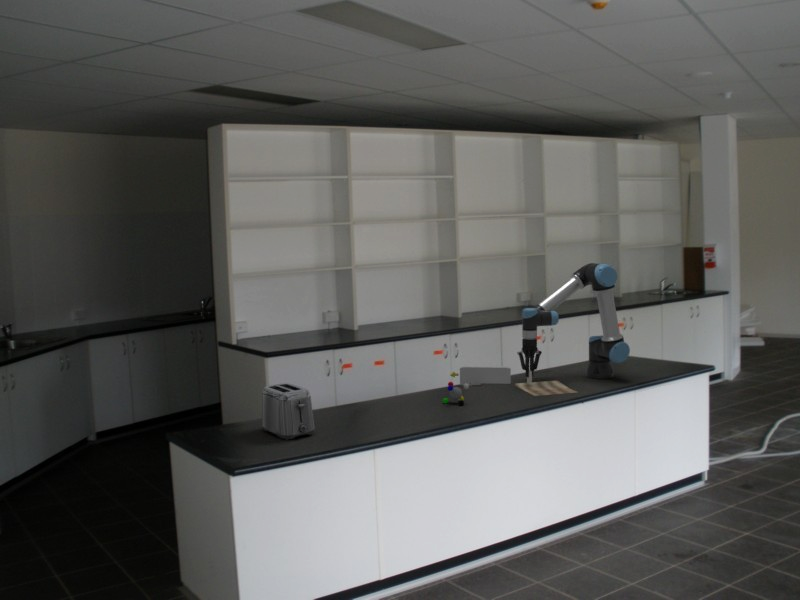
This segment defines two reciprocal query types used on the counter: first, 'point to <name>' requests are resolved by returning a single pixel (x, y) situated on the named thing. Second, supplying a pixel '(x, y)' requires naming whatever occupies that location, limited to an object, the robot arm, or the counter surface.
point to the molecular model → (456, 393)
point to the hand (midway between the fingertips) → (529, 383)
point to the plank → (541, 386)
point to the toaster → (287, 410)
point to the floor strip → (552, 392)
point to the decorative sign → (483, 375)
